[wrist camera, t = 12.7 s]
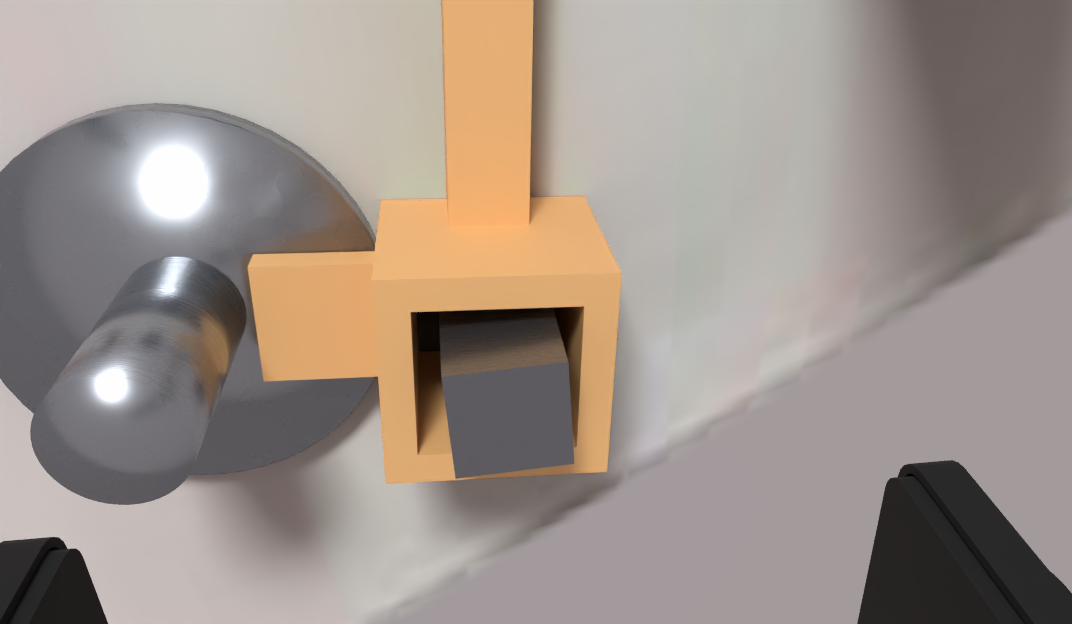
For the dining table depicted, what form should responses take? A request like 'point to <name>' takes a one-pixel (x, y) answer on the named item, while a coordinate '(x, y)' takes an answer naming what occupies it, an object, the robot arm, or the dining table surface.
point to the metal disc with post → (160, 296)
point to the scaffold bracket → (455, 265)
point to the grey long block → (505, 390)
